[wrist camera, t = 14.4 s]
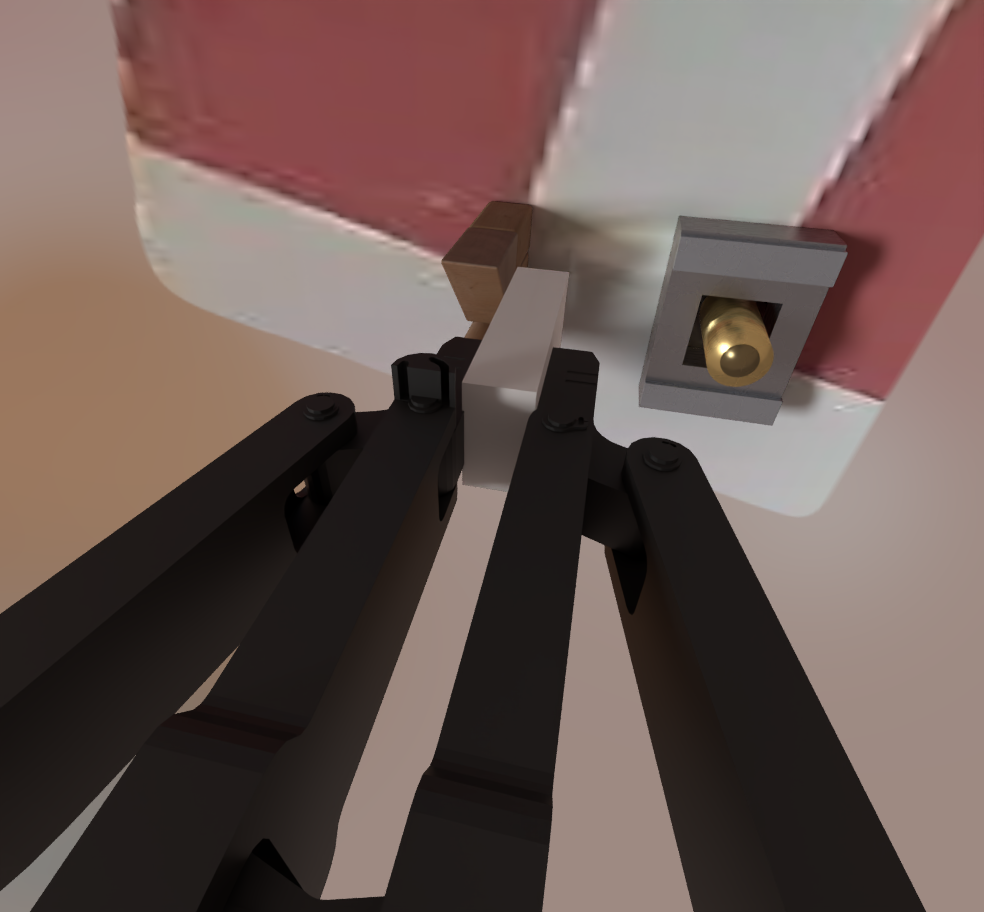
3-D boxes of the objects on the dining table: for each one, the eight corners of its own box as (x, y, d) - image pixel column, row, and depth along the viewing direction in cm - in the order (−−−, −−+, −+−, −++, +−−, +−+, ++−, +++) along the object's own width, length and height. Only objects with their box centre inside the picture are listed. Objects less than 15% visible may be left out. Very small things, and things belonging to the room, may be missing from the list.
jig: (679, 216, 42) (682, 232, 38) (833, 230, 40) (849, 248, 37) (638, 385, 51) (638, 409, 48) (762, 402, 50) (771, 428, 46)
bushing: (704, 285, 44) (713, 332, 38) (762, 286, 43) (781, 334, 37) (694, 334, 47) (701, 385, 41) (749, 337, 46) (765, 389, 40)
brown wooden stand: (533, 204, 43) (484, 290, 29) (523, 329, 50) (479, 448, 36) (488, 199, 44) (419, 282, 30) (483, 324, 51) (425, 439, 37)
